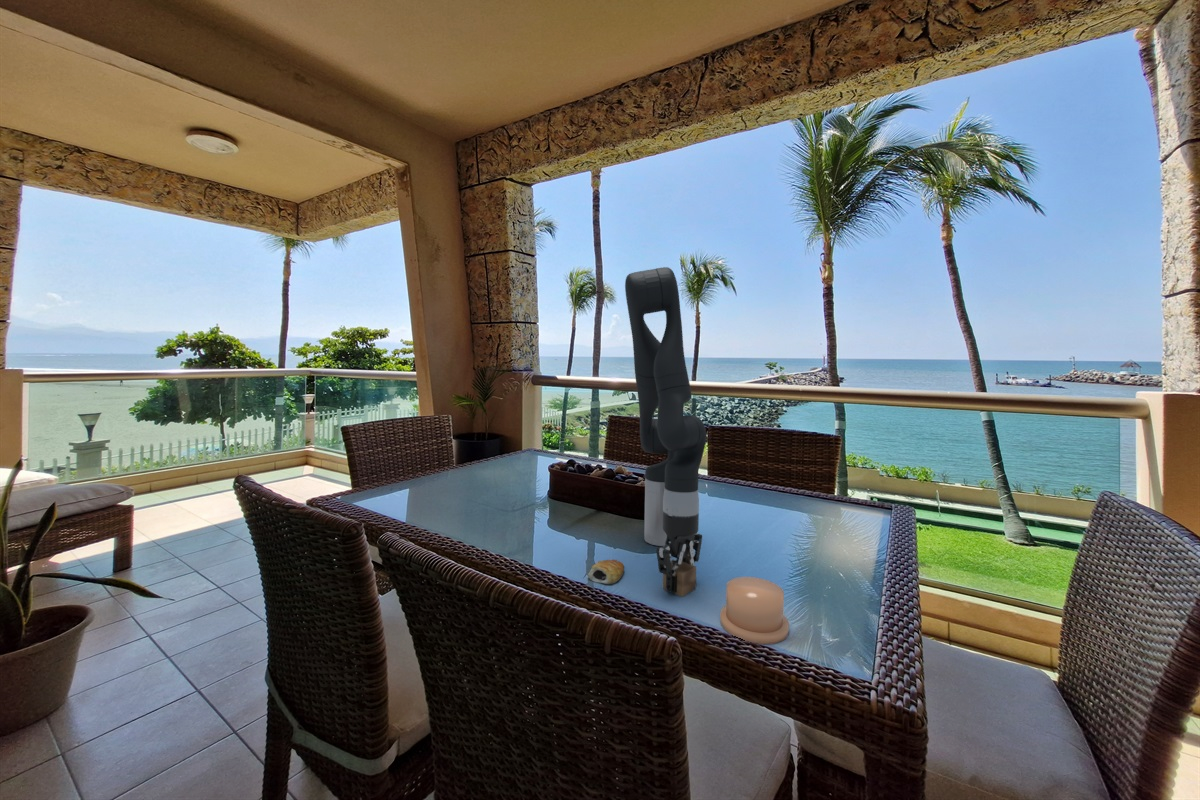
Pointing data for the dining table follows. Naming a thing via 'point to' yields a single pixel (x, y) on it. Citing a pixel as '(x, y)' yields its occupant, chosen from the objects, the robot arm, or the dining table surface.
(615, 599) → the dining table surface
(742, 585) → the upside-down peach bowl
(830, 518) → the dining table surface
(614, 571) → the pastry
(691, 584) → the walnut block
